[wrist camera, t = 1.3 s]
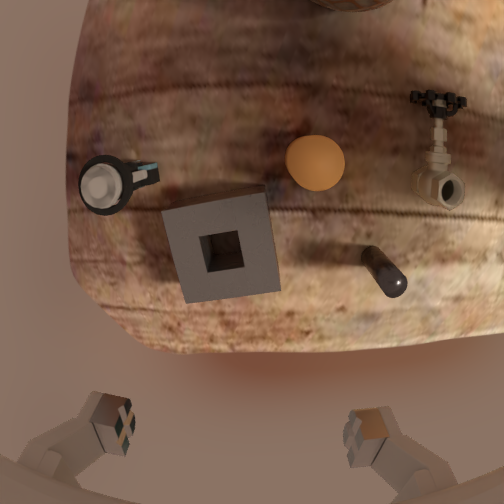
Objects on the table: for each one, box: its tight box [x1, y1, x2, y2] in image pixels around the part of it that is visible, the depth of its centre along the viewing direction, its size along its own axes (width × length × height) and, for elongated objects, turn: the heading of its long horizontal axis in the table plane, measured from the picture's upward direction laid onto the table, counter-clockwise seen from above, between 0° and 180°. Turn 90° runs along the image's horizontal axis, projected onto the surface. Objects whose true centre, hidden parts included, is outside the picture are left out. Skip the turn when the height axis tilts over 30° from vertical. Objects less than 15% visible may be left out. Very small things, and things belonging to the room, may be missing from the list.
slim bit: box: [361, 246, 407, 298], centre depth 32 cm, size 3×3×8 cm
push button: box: [78, 155, 160, 216], centre depth 29 cm, size 7×5×10 cm
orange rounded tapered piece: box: [285, 135, 345, 191], centre depth 30 cm, size 5×5×6 cm
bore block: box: [161, 185, 281, 304], centre depth 34 cm, size 10×10×5 cm
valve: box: [410, 90, 467, 211], centre depth 29 cm, size 7×7×12 cm
